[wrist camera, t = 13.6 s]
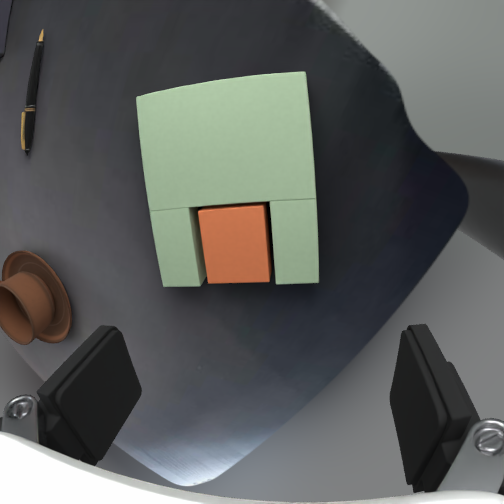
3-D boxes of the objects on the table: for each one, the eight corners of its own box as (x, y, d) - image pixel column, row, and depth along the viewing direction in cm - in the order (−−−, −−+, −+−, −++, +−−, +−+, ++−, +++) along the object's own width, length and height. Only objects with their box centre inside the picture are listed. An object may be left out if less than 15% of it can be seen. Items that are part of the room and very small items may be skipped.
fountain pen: (43, 30, 22) (34, 28, 21) (50, 28, 22) (41, 25, 21) (27, 155, 27) (18, 156, 26) (34, 155, 27) (25, 156, 25)
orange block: (266, 200, 26) (263, 206, 23) (271, 270, 28) (269, 282, 25) (206, 204, 26) (197, 211, 24) (215, 271, 28) (208, 283, 26)
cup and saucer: (24, 325, 35) (-3, 347, 29) (4, 242, 31) (-30, 259, 25) (88, 344, 34) (61, 374, 28) (69, 249, 30) (32, 271, 24)
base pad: (304, 77, 22) (305, 71, 20) (317, 271, 27) (319, 282, 25) (148, 99, 24) (135, 96, 22) (172, 276, 29) (163, 287, 27)
